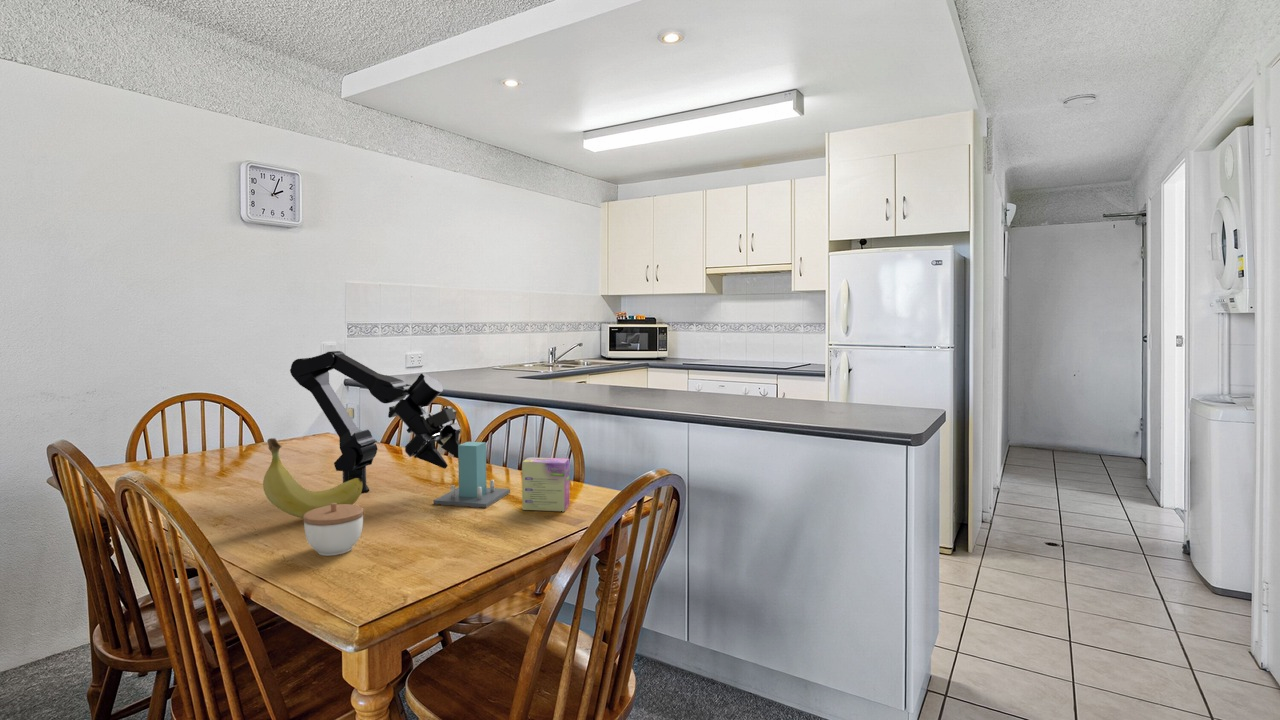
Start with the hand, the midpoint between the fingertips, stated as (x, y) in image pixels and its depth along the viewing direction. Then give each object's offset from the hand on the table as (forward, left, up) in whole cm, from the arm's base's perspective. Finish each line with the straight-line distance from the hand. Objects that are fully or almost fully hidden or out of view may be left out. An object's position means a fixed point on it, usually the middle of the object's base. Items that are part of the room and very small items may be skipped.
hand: (455, 463), depth 166 cm
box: (+20, +16, -9) cm, 28 cm away
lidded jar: (+26, -31, -9) cm, 41 cm away
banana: (+2, -32, -9) cm, 33 cm away
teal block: (+3, +3, -8) cm, 9 cm away
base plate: (+3, +3, -9) cm, 10 cm away
